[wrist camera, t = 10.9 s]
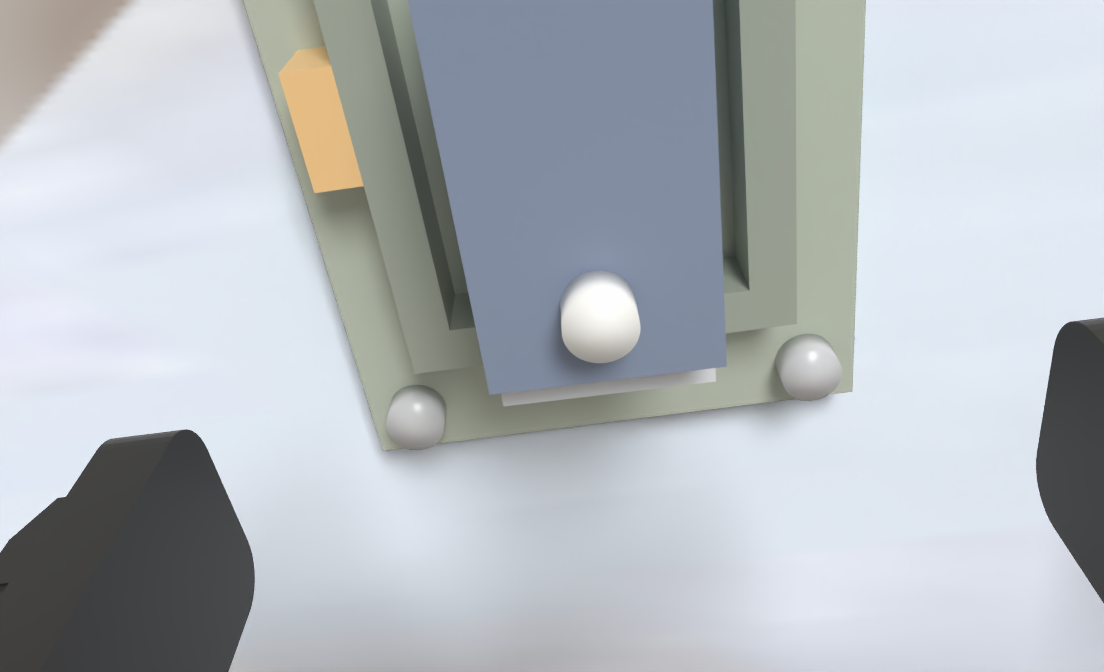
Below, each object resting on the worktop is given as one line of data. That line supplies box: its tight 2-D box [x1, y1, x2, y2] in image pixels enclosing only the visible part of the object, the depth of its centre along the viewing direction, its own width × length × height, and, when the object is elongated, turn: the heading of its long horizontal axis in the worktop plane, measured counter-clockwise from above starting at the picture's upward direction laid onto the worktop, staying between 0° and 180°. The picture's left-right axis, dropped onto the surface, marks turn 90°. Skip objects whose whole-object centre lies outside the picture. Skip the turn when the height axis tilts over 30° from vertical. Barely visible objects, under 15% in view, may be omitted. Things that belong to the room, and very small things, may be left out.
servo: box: [408, 0, 727, 406], centre depth 16 cm, size 4×10×7 cm, turn 7°
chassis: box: [243, 0, 866, 451], centre depth 18 cm, size 12×18×3 cm, turn 8°
